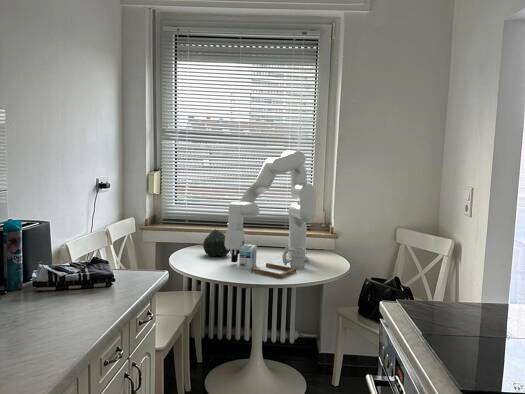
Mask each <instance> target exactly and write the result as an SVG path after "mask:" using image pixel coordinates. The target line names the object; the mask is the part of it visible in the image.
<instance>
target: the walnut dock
mask: <svg viewBox="0 0 525 394" xmlns="http://www.w3.org/2000/svg"><path fill="white" fill-rule="evenodd" d="M265 268H267V269H268V268H269V269H271V270H278V271H283V272H281V273H278V272H274V271H270V270H269V271H268V270H264V269H259V268H255V267H254V268H251V270H250V273H253V274H257V275H262V276H266V277H270V278H275V279H280V280H282V279H284V278H287V277H290V276H292V275H294V274H297V270H298V269H295V268H291V266H290V267H289V266H286V265H279V264H275V263H269V262H266V264H265Z"/></svg>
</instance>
